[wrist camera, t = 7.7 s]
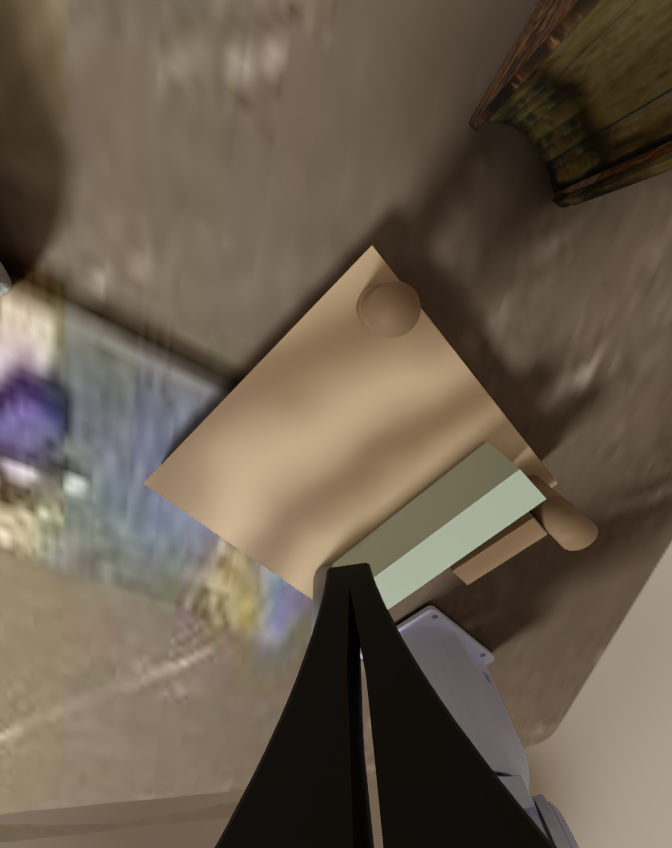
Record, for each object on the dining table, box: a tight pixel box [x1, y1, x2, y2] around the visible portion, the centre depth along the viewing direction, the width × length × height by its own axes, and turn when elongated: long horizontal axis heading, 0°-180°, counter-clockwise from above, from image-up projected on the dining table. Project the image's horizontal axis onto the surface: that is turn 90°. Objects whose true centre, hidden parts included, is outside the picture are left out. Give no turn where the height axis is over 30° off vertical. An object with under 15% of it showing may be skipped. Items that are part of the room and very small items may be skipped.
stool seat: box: [143, 246, 598, 600], centre depth 17 cm, size 17×17×6 cm
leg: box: [311, 441, 546, 636], centre depth 17 cm, size 14×3×4 cm, turn 135°
